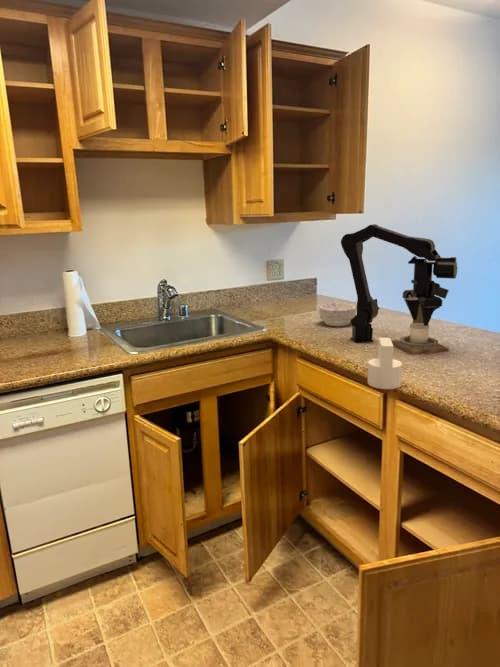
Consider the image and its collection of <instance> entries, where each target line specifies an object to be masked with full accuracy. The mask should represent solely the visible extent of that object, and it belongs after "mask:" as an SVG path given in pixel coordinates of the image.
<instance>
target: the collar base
mask: <svg viewBox="0 0 500 667" xmlns="http://www.w3.org/2000/svg"><path fill="white" fill-rule="evenodd" d="M391 342H392V344H393V347H396V348H397V349H399V350H400V351H403V352H404V353H406V354H408V355H419V354H421V355H422V354H432V353H445V352H449V349H450V348H449V347H446V346H444V345H442V344H441V343H439V340H438V339H437V338H434V337H430V336H428V344H413V343H410V335H406V336H403V337H400V338H399V339H398V340H391Z"/></svg>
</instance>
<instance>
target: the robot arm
mask: <svg viewBox="0 0 500 667" xmlns="http://www.w3.org/2000/svg"><path fill="white" fill-rule="evenodd" d="M372 238H375V239H378V240H380V241H383V242H388V244H389V243H390V244H393V245H396V246H399V247H401V248H403V249H405V250H407V251H408V252H409V253H411V254H412V255H413V256H412V258H411V259H410V260H409V261H408V262H407V264H410V265H411V264H412V265H414V266H413V279H411V280H410V283H411V284H413V285H412V286H413V287H412V289H405V290H404V291H403V292H402V298H403V301H404V302H405V304H406V306H407V309H408V311H409V313H410V316H411V318H412V321H413V320H416V319H417V315H418V309H419V308H420V312H421V316H422V320H423V323H424V326H428V325H429V323H430V322H431V321H430V320H431V318H432V317H433V315H434V314H433V313H434V312H435V311H436V310H438V309H440V308H441V307H442V306H443V299H444V300H445V299H446V298H447V295H448V293H449V291H450V289H446V288H444V287H441V285H440V283H438V282H435V281H434V280H432V279H433V276H435V278H437V279H456V278H457V275H458V268H459V267H458V261H457V257H456V256H453V257H452V256H451V257H442V256H441V255H440V254H439V252H438V251H437V249H436V244H435V242H434V241H433V240H432V239H430V238H425V237H418V236H409V235H407V234H403V233H400V232H398V231H394V230H391V229H388V228H386V227H383V226H380V225H378V224H375V223H374V224H369V225H367V226H366V227H364V228H362V229H360V230H358V231H355V232H352V233H345V234H344V235H343V236H342V238H341V240H340V244H341V248H342V250H343V253H344V254H345V256H346V257H347V260H348V261H349V264H350V270H351V274H352V279H353V284H354V289H355V292H356V297H357V300H356V316H355V317H354V318H353V319H351V320H350V321H351V322H350V324H351V336H350V337H349V340H352V341H353V342H355V343H357V344H359V343H372V342H374V340H373V330H374V328H373V327H372V326H373V325H372V323H373V321H374V319H376V318H377V316H379V315H378V314H379V310H380V307H379V305H378V299H377V298H373V296H372V295H371V293H370V288H369V283H368V278H367V275H366V270H365V265H364V261H363V252H364V242H367V241H369V240H370V239H372ZM419 305H420V306H419Z"/></svg>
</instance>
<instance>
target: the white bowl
mask: <svg viewBox="0 0 500 667" xmlns="http://www.w3.org/2000/svg"><path fill="white" fill-rule="evenodd" d="M356 307H357V305H356V306H355V305H354V304H351V303H345V302H331V303H323V304H320V306H319V308H318V309H319V318H320V319H321V320H323V321H324V324H325V325H327V326H330V327H345V326H348V325H350V324H351V321H350V320H351V319H353V318H354V317H355V316H356V315H357V308H356Z"/></svg>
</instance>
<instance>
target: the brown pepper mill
mask: <svg viewBox="0 0 500 667" xmlns="http://www.w3.org/2000/svg"><path fill="white" fill-rule="evenodd" d="M419 306H420V305H419ZM412 323H423V320H422V316H421V312H420V308H419V309H418V315H417V319H416V320H413V319H412Z"/></svg>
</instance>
